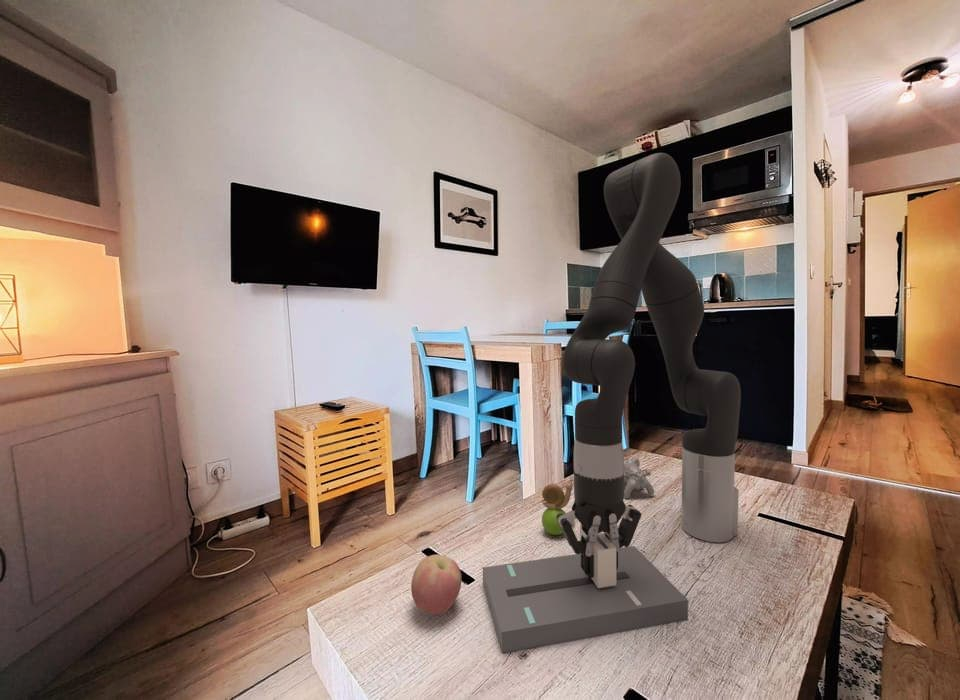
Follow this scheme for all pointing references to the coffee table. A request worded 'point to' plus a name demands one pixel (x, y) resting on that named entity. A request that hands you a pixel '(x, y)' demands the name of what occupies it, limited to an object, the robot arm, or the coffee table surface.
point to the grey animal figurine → (635, 477)
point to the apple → (436, 584)
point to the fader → (604, 562)
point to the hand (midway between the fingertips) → (599, 572)
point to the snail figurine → (554, 506)
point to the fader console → (576, 600)
